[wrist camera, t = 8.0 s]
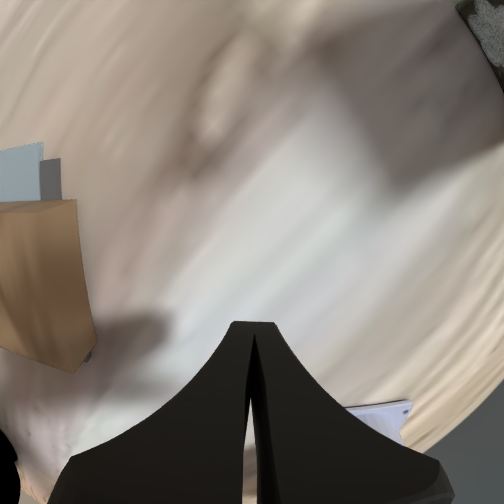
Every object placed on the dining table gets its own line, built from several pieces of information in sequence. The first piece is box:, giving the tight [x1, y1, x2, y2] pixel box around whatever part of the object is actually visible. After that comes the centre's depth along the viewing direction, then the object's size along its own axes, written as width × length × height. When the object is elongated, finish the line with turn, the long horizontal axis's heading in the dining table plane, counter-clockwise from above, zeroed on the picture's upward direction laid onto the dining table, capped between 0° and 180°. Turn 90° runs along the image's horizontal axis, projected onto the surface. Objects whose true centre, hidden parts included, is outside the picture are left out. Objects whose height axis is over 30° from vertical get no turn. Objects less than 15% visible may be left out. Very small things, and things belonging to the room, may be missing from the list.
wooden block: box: [0, 200, 98, 373], centre depth 12 cm, size 8×3×8 cm
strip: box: [40, 158, 91, 362], centre depth 14 cm, size 12×1×1 cm, turn 178°
